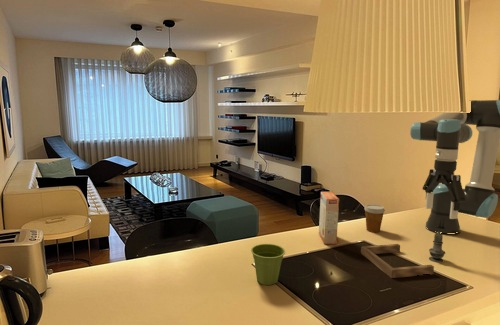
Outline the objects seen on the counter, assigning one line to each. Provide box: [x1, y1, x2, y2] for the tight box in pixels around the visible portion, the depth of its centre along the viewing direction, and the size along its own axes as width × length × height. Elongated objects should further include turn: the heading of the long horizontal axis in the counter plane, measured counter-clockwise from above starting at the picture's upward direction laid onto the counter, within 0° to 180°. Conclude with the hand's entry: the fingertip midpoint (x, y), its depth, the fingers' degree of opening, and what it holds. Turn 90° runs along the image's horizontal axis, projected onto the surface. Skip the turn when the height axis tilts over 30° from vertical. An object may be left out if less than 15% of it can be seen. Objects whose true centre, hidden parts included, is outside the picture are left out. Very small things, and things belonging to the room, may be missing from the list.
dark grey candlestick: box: [428, 231, 446, 263], centre depth 143 cm, size 6×6×12 cm
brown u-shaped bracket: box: [360, 243, 435, 279], centre depth 141 cm, size 17×22×3 cm
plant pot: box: [250, 243, 286, 286], centre depth 125 cm, size 12×12×11 cm
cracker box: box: [318, 191, 340, 245], centre depth 164 cm, size 14×6×21 cm, turn 179°
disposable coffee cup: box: [364, 204, 386, 233], centre depth 177 cm, size 10×10×12 cm
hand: (440, 213), depth 141 cm, fingers open, 13 cm apart
